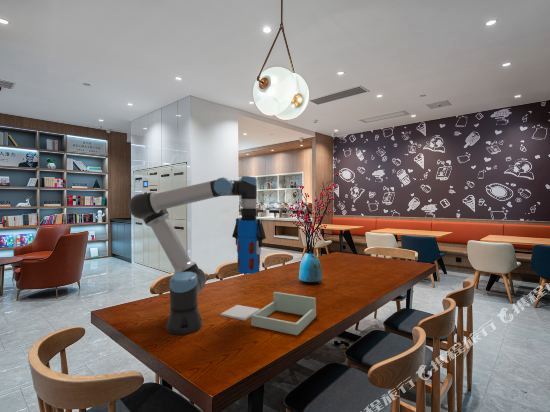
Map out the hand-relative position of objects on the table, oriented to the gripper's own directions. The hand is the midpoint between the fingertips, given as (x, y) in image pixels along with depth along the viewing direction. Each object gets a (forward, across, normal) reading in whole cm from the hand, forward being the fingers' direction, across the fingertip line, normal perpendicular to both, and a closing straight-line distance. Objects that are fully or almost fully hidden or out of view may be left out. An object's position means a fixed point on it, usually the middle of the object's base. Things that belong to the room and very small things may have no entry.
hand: (248, 252), depth 145 cm
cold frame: (+30, -19, -2) cm, 36 cm away
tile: (+31, +5, 0) cm, 31 cm away
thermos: (+9, 0, 0) cm, 9 cm away
